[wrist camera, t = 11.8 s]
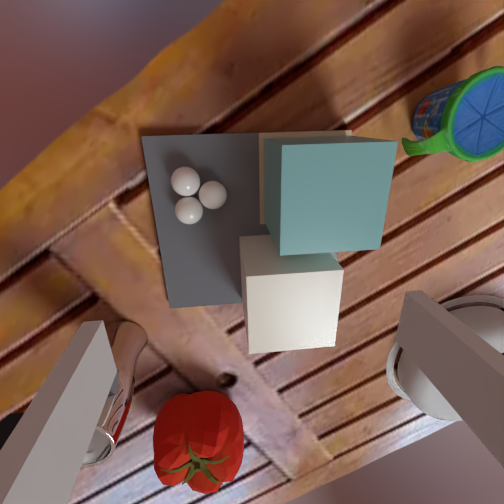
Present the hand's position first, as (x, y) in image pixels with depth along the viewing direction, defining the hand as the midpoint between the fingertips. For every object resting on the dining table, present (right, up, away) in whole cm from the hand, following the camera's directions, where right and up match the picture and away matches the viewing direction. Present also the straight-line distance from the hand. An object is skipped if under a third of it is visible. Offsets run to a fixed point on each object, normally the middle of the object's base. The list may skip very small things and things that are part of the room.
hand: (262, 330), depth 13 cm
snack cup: (+20, +19, +20) cm, 34 cm away
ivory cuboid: (+3, +1, +25) cm, 25 cm away
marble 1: (-8, +11, +19) cm, 23 cm away
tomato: (-9, -22, +35) cm, 42 cm away
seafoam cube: (+5, +12, +20) cm, 24 cm away
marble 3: (-5, +10, +20) cm, 23 cm away
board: (-1, +7, +23) cm, 24 cm away
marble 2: (-7, +9, +20) cm, 23 cm away
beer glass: (-18, -8, +28) cm, 35 cm away
